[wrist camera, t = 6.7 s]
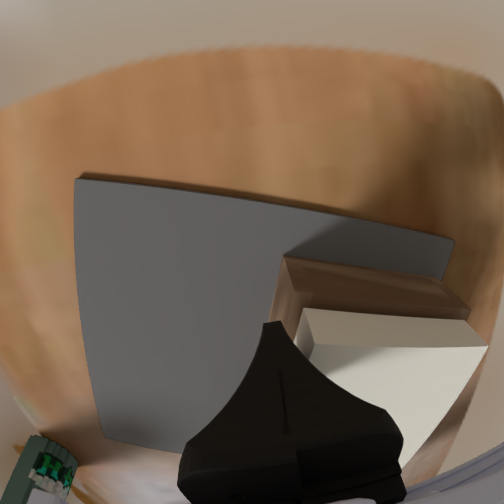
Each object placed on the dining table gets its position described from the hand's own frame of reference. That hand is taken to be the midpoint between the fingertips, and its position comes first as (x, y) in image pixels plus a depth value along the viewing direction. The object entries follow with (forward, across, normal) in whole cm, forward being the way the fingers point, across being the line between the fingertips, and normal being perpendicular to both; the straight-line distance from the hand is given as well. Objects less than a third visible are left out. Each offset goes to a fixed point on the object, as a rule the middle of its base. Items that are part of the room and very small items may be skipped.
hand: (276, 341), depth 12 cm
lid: (+1, -4, +6) cm, 7 cm away
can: (+6, +27, +18) cm, 33 cm away
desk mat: (+6, +2, +6) cm, 9 cm away
